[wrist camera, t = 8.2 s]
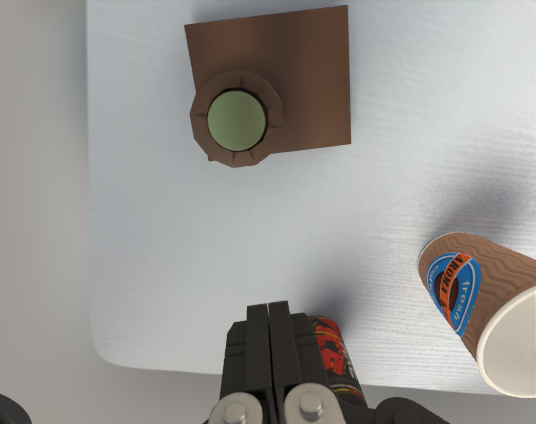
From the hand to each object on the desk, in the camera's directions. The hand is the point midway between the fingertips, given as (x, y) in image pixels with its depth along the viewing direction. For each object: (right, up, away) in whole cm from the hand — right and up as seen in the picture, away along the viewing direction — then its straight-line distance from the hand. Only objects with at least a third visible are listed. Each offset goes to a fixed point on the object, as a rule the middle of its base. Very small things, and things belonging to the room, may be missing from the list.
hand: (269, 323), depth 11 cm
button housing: (0, +15, +15) cm, 21 cm away
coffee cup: (+19, -1, +21) cm, 29 cm away
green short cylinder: (-2, +11, +12) cm, 16 cm away
